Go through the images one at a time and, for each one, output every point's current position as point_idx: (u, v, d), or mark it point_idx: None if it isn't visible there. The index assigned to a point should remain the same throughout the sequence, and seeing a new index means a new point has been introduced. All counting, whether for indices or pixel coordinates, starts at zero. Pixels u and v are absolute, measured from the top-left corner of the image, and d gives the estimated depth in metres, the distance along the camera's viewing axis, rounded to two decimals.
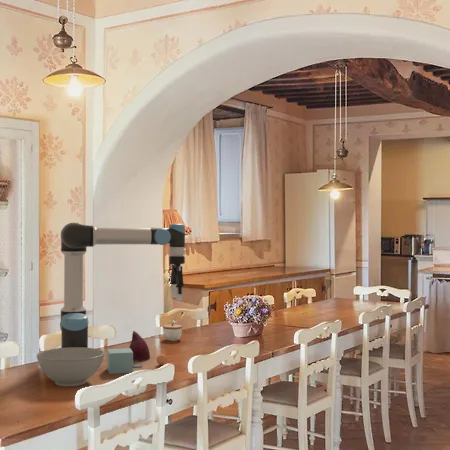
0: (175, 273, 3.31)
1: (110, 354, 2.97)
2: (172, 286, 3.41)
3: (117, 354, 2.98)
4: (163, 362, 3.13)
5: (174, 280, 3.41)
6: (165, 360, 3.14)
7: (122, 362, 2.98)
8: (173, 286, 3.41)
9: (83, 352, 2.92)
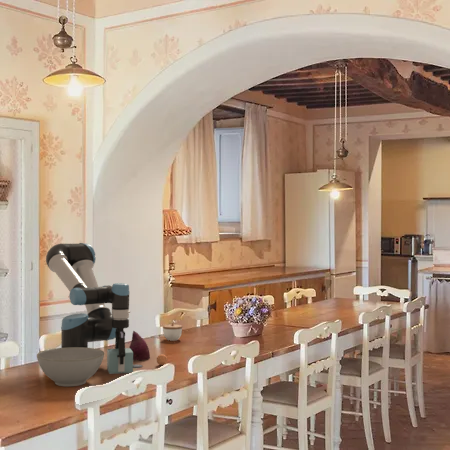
0: (117, 339, 3.00)
1: (110, 354, 2.97)
2: None
3: (117, 354, 2.98)
4: (163, 362, 3.13)
5: (118, 346, 3.08)
6: (165, 360, 3.14)
7: None
8: None
9: (83, 352, 2.92)
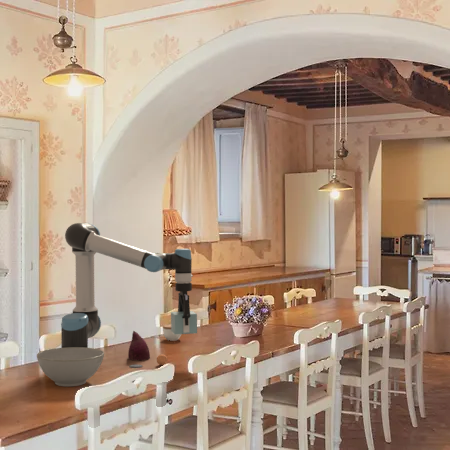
0: (182, 302, 3.12)
1: (175, 315, 3.10)
2: None
3: (182, 315, 3.11)
4: (163, 362, 3.13)
5: (182, 310, 3.21)
6: (165, 360, 3.14)
7: None
8: None
9: (83, 352, 2.92)
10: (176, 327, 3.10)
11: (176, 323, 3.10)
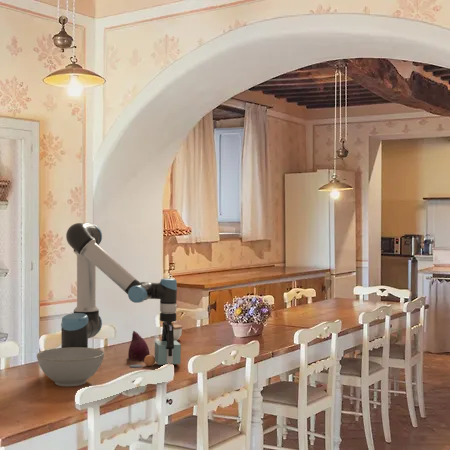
0: (166, 332, 3.12)
1: (159, 346, 3.10)
2: None
3: (166, 346, 3.11)
4: (151, 359, 3.12)
5: (165, 339, 3.20)
6: (148, 359, 3.11)
7: None
8: None
9: (83, 352, 2.92)
10: (160, 357, 3.10)
11: (160, 353, 3.10)
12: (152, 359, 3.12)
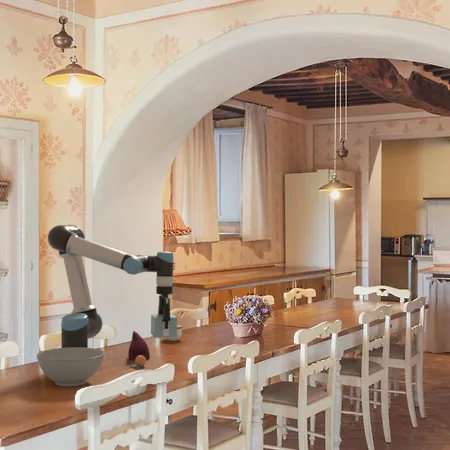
0: (162, 305, 3.12)
1: (155, 318, 3.09)
2: None
3: (162, 319, 3.10)
4: (139, 361, 3.10)
5: (162, 312, 3.20)
6: (139, 363, 3.10)
7: None
8: None
9: (83, 352, 2.92)
10: (156, 330, 3.09)
11: (156, 326, 3.09)
12: (139, 359, 3.10)
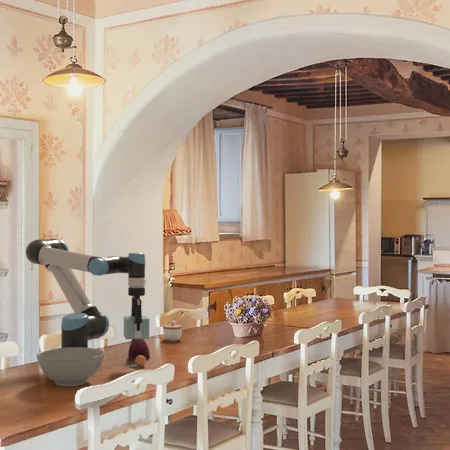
0: (134, 307, 3.08)
1: (127, 320, 3.06)
2: None
3: (134, 320, 3.07)
4: (139, 361, 3.10)
5: (134, 314, 3.16)
6: (139, 363, 3.10)
7: None
8: None
9: (83, 352, 2.92)
10: (128, 332, 3.06)
11: (128, 328, 3.06)
12: (139, 359, 3.10)
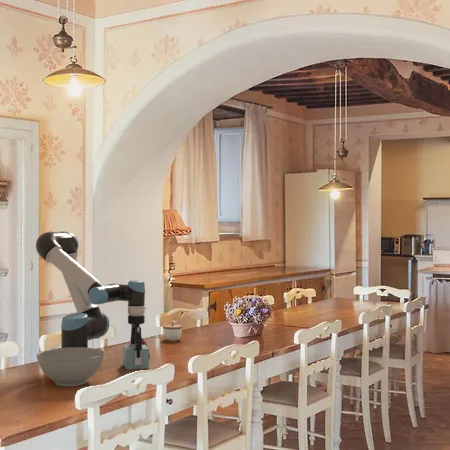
0: (134, 334, 3.08)
1: (127, 350, 3.06)
2: None
3: (133, 350, 3.07)
4: None
5: (134, 340, 3.18)
6: None
7: None
8: None
9: (83, 352, 2.92)
10: (127, 362, 3.06)
11: (127, 358, 3.06)
12: None
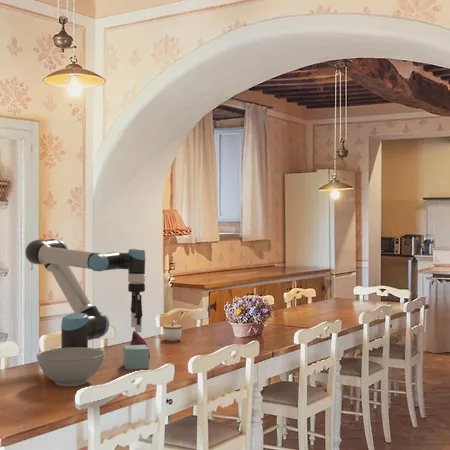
0: (134, 302, 3.08)
1: (127, 350, 3.06)
2: (132, 315, 3.18)
3: (133, 350, 3.07)
4: None
5: (134, 309, 3.17)
6: None
7: (138, 358, 3.07)
8: (133, 315, 3.18)
9: (83, 352, 2.92)
10: (127, 362, 3.06)
11: (127, 358, 3.06)
12: None
